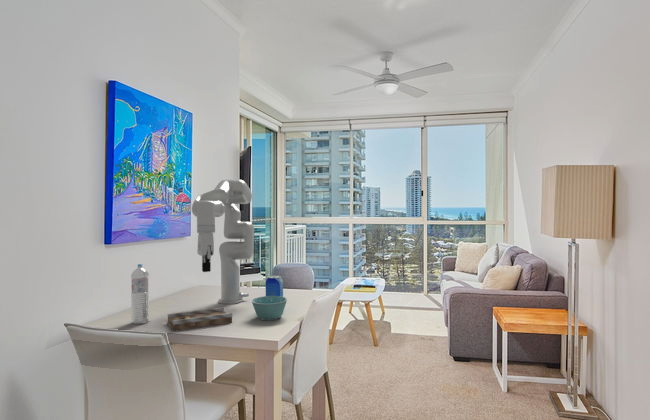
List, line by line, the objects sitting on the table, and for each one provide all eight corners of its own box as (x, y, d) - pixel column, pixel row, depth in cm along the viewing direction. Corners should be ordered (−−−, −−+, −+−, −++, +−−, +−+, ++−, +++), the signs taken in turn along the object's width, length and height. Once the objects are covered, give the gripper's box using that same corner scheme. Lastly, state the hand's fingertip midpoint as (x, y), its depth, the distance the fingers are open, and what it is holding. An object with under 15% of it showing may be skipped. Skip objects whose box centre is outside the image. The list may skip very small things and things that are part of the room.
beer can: (286, 308, 205) (286, 275, 205) (277, 312, 197) (277, 278, 197) (271, 306, 208) (271, 274, 208) (262, 310, 201) (262, 277, 201)
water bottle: (134, 320, 183) (134, 263, 183) (150, 320, 184) (150, 263, 184) (128, 324, 176) (128, 265, 176) (145, 324, 177) (145, 265, 177)
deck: (223, 316, 190) (223, 307, 190) (232, 322, 179) (232, 313, 179) (167, 323, 178) (167, 313, 178) (173, 330, 167) (173, 320, 167)
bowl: (272, 324, 177) (271, 304, 177) (244, 319, 185) (244, 300, 185) (294, 316, 190) (294, 298, 190) (267, 311, 198) (267, 294, 198)
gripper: (193, 228, 186) (193, 270, 186) (201, 230, 173) (201, 274, 173) (210, 228, 190) (210, 268, 190) (219, 229, 177) (219, 273, 177)
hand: (206, 271), depth 181 cm, fingers closed
